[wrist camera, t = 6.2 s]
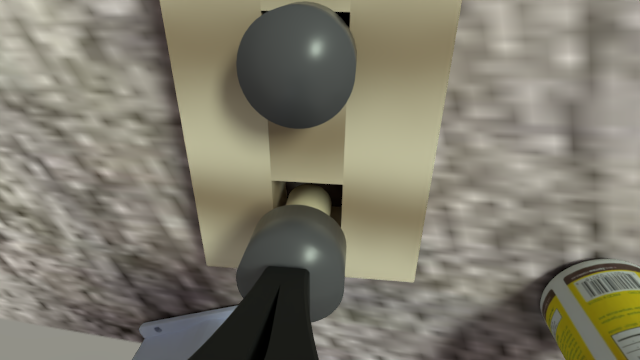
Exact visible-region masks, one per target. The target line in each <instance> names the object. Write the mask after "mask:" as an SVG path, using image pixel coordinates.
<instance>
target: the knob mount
mask: <svg viewBox="0 0 640 360" xmlns="http://www.w3.org/2000/svg"><path fill="white" fill-rule="evenodd" d="M303 1H306V2H314V3H318V4H321V5H324V6H326V7H328V8H330V9H331V10H333V11H334V12H350V31H351V33H352V35H353V37H354V41H355V44H356V50H357V64H356V74H355V82H354V86H353V90H352V93H351V95H350V97H349V99H348V101H347V103H346V104H345V106H344V107H343V108H342V110H341V111H340V112H339V113H338V114H337V115H335V116H334V117H333V118H332V119H330V120H329V121H327V122H325V123H323V124H321V125H318V126H315V127H311V128H305V129H294V128H287V127H283V126H280V125H277V124H275V123H273V122H271V121H269V120H267V119H266V118H264V117H263V116H261V115H260V114H259V113H258V112H257V111H256V110H255V109H254V108H253V107H252V106H251V104H250V103H249V102H248V100H247V99H246V97H245V95H244V94H243V91H242V89H241V87H240V84H239V80H238V76H237V68H236V60H237V52H238V48H239V45H240V42H241V39H242V37H243V35H244V34H245V32H246V30H247V29H248V28H249V26H250V25H251V24H252V23H253V22H254V21H255V20H256V19H257V18H259V17H260V16H261V15H263V14H264V13H266V12H268V11H270V10H273V9H275V8H278V7H281V6H284V5H287V4H290V3H294V2H303ZM461 2H462V0H160V6H161V11H162V17H163V23H164V28H165V34H166V39H167V45H168V51H169V56H170V62H171V68H172V73H173V79H174V84H175V90H176V96H177V101H178V107H179V112H180V118H181V124H182V129H183V135H184V141H185V146H186V152H187V157H188V163H189V169H190V174H191V180H192V185H193V191H194V197H195V202H196V208H197V214H198V219H199V225H200V230H201V236H202V242H203V247H204V253H205V259H206V264H207V266H213V267H226V268H238V266H239V264H240V262H241V259H242V257H243V255H244V252H245V250H246V248H247V246H248V243H249V241H250V239H251V236H252V234H253V232H254V230H255V227H256V225H257V223H258V222H259V220H260V219H261V218H262V217H263V216H264V215H265V214H266V213H268V212H269V211H271V210H273V209H275V208H278V207H280V206H285V205H286V202H287V195H286V181H288V182H305V183H323V184H340V185H343V195H342V207H334V206H331V213H330V217H332V218H333V219H334V220H335V221H336V222H337V223H338V224H339V226H340V227H341V229H342V231H343V233H344V235H345V238H346V245H347V249H346V264H345V277H353V278H365V279H378V280H391V281H403V282H414V279H415V273H416V267H417V261H418V255H419V249H420V243H421V237H422V232H423V226H424V220H425V214H426V208H427V202H428V196H429V190H430V185H431V179H432V173H433V167H434V161H435V155H436V149H437V143H438V138H439V132H440V126H441V120H442V114H443V108H444V102H445V96H446V91H447V85H448V79H449V73H450V67H451V61H452V55H453V49H454V44H455V38H456V32H457V26H458V20H459V14H460V8H461Z"/></svg>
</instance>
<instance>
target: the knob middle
mask: <svg viewBox="0 0 640 360" xmlns="http://www.w3.org/2000/svg"><path fill="white" fill-rule="evenodd" d="M356 64H357V50H356V44H355V41H354V37H353V35H352V33H351V31H350V29H349V27H348V25H347V24H346V23H345V21H344V20H343V19H342V18H341V17H340V16H339V15H338V14H337V13H335V12H334V11H333V10H331V9H330V8H328V7H326V6H324V5H321V4H318V3H314V2H306V1H303V2H294V3H290V4H287V5H284V6H281V7H278V8H275V9H273V10H270V11H268V12H266V13H264V14H263V15H261V16H260V17H259V18H257V19H256V20H255V21H254V22H253V23H252V24H251V25H250V26H249V28H248V29H247V30H246V32H245V34H244V35H243V37H242V39H241V42H240V45H239V48H238V52H237V60H236V68H237V76H238V80H239V84H240V87H241V89H242V91H243V94H244V95H245V97H246V99H247V100H248V102H249V103H250V104H251V106H252V107H253V108H254V109H255V110H256V111H257V112H258V113H259V114H260V115H261V116H263V117H264V118H266V119H267V120H269V121H271V122H273V123H275V124H277V125H280V126H283V127H287V128H294V129H305V128H311V127H315V126H318V125H321V124H323V123H325V122H327V121H329V120H330V119H332V118H333V117H334V116H335V115H337V114H338V113H339V112H340V111H341V110H342V108H343V107H344V106H345V104H346V103H347V101H348V99H349V97H350V95H351V93H352V90H353V86H354V82H355V74H356Z"/></svg>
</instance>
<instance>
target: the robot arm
mask: <svg viewBox="0 0 640 360" xmlns="http://www.w3.org/2000/svg"><path fill="white" fill-rule="evenodd" d="M139 332H140V334H141V335H142V336H143V337H144V341H143V342H142V344H141V346H140V347H139V349H138V351H137V352H136V354H135V356H134V357H133V359H132V360H319V359H318V355H317V351H316V346H315V342H314V337H313V332H312V327H311V320H310V272H309V271H308V270H307V269H303V268H290V267H277V266H268V267H267V268H265V270H264V271H263V273H262V274H261V276H260V277H259V279H258V280H257V282H256V283H255V284H254V286H253V287H252V288H251V290H250V291H249V292H248V294H247V295H246V296H245V297H244V299H243V300H242V301H241V302H240V304H239V305H237V306H231V307H226V308H221V309H215V310H210V311H205V312H199V313H194V314H189V315H183V316H178V317H173V318H167V319H162V320H157V321H151V322H146V323H143V324H142V325H141V326H140V328H139Z"/></svg>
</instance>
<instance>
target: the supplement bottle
mask: <svg viewBox="0 0 640 360" xmlns="http://www.w3.org/2000/svg"><path fill="white" fill-rule="evenodd" d="M540 308H541V313H542V316H543V318H544V320H545V322H546V324H547V326H548V328H549V330H550V331H551V333H552V335H553V337H554V339H555V341H556V343H557V345H558V346H559V348H560V350H561V352H562V354H563V356H564V358H565V359H566V360H640V267H638V266H636V265H634V264H632V263H629V262H626V261H622V260H616V259H596V260H590V261H585V262H582V263H579V264H576V265H573V266H571V267H569V268H567V269H565V270H564V271H562V272H560V273H559V274H558V275H556V276H555V277H554V278H553V279H552V280H551V281H550V282H549V283H548V285H547V286H546V288H545V289H544V291H543V294H542V297H541V302H540Z"/></svg>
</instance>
